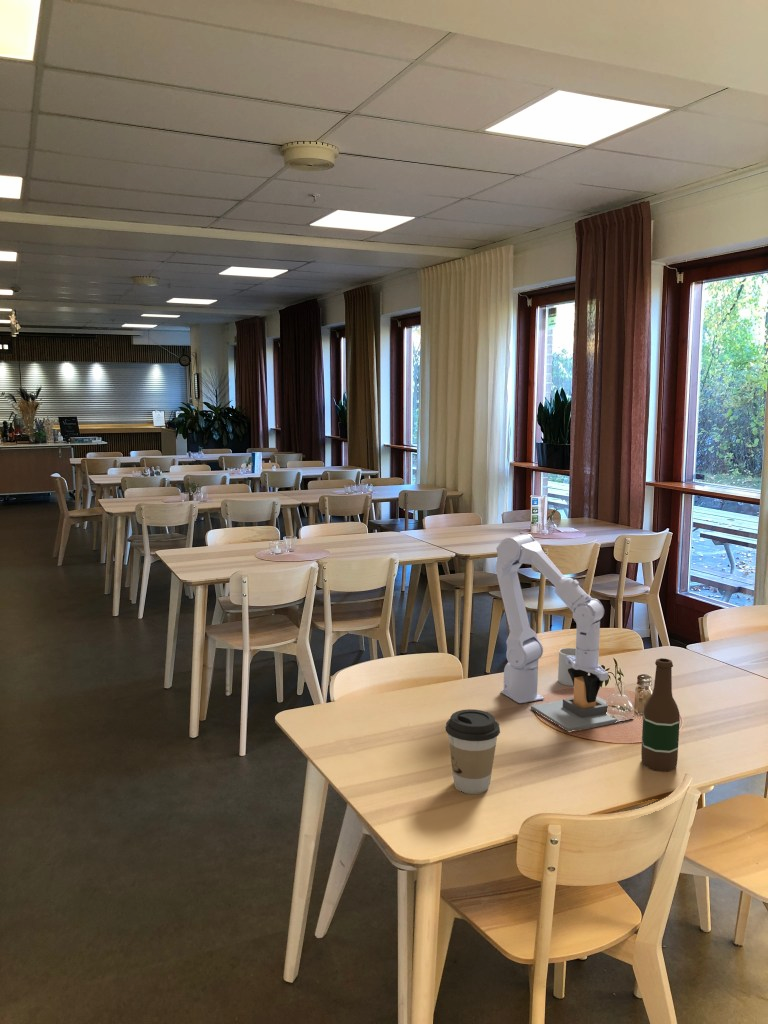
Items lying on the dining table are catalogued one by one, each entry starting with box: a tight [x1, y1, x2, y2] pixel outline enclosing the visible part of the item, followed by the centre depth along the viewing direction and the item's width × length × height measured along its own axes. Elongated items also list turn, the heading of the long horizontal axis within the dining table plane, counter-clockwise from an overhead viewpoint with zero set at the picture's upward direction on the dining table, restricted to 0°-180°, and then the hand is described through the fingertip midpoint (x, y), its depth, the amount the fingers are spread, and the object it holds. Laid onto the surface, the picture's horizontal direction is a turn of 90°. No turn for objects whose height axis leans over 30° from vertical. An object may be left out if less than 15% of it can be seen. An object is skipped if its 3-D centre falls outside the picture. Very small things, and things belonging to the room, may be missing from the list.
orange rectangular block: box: [573, 676, 596, 708], centre depth 207 cm, size 4×4×7 cm
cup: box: [557, 647, 576, 687], centre depth 229 cm, size 7×10×9 cm
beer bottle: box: [640, 657, 681, 773], centre depth 178 cm, size 8×8×24 cm
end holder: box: [530, 695, 635, 732], centre depth 208 cm, size 16×20×3 cm
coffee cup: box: [445, 708, 501, 795], centre depth 169 cm, size 11×11×15 cm
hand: (585, 698), depth 208 cm, fingers closed on orange rectangular block, 4 cm apart
